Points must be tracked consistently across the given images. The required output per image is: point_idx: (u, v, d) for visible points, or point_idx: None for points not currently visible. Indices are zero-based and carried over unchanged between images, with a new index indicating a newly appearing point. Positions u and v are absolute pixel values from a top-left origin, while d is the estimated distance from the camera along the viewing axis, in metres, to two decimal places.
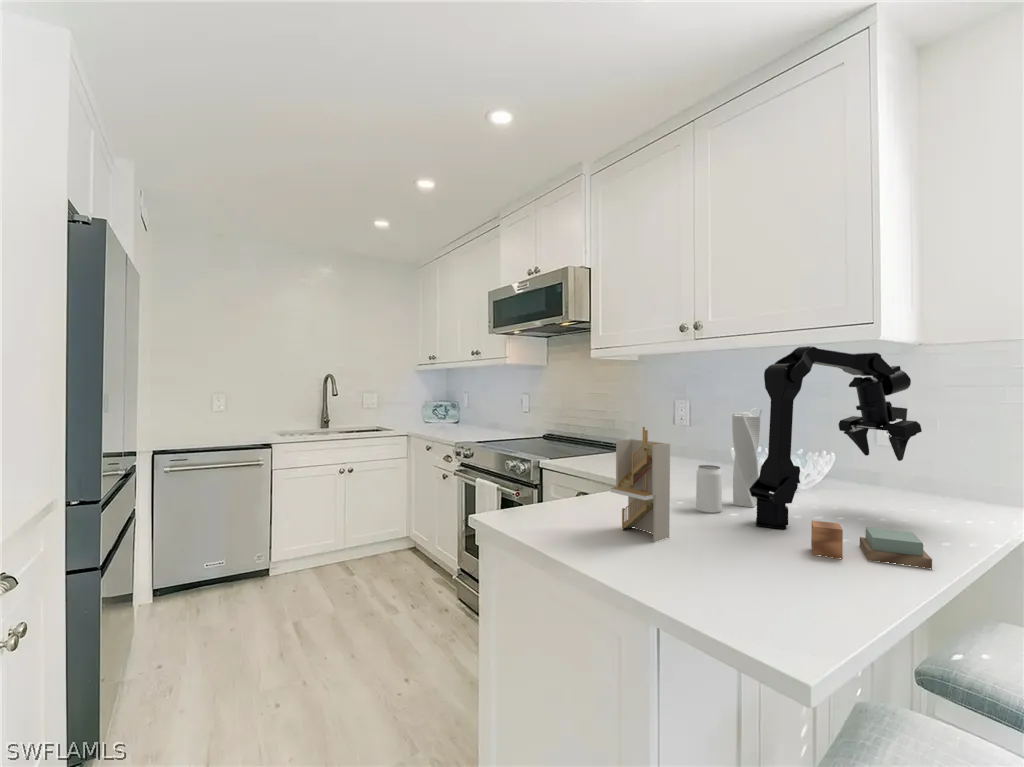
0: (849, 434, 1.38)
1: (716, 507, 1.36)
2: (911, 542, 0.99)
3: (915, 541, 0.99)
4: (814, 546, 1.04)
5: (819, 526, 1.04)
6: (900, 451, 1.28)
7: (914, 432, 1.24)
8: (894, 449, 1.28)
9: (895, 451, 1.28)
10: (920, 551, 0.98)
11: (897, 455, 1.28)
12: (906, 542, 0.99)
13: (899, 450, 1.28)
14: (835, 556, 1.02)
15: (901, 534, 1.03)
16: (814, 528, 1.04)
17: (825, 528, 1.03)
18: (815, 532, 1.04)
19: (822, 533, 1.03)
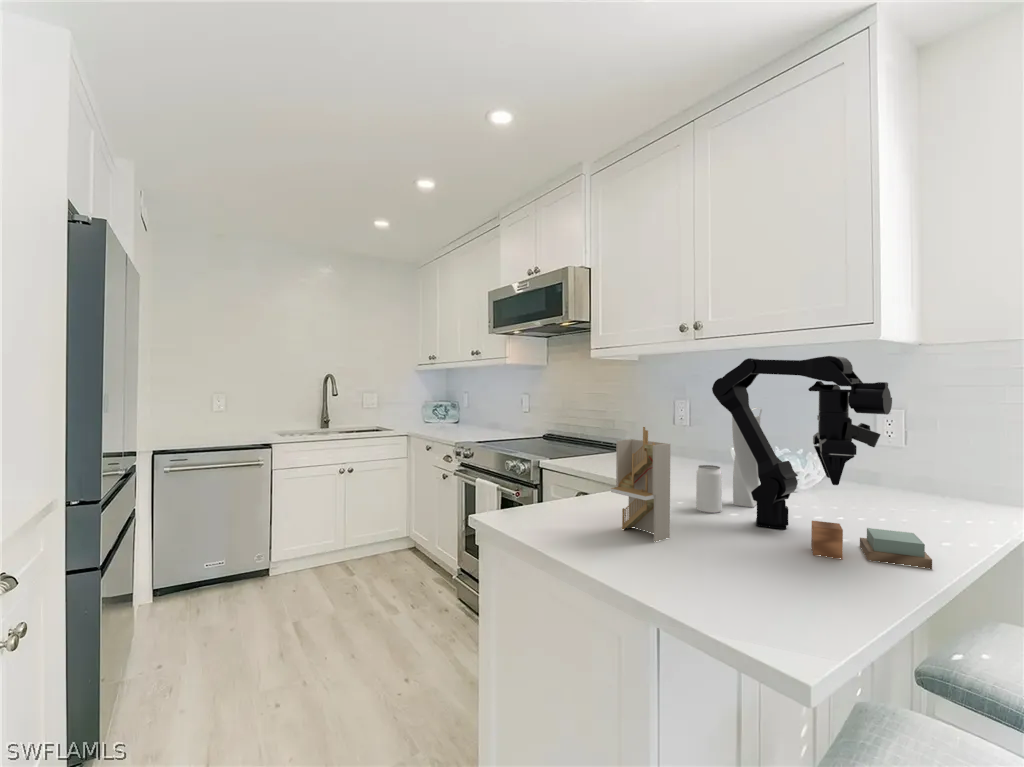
0: (815, 448, 1.21)
1: (716, 507, 1.36)
2: (912, 543, 0.99)
3: (917, 542, 0.99)
4: (814, 546, 1.04)
5: (819, 526, 1.04)
6: (833, 473, 1.10)
7: (840, 452, 1.06)
8: (826, 468, 1.11)
9: (828, 471, 1.11)
10: (921, 552, 0.98)
11: (829, 477, 1.11)
12: (907, 543, 0.99)
13: (831, 471, 1.10)
14: (835, 556, 1.02)
15: (902, 535, 1.03)
16: (814, 528, 1.04)
17: (825, 528, 1.03)
18: (815, 532, 1.04)
19: (822, 533, 1.03)
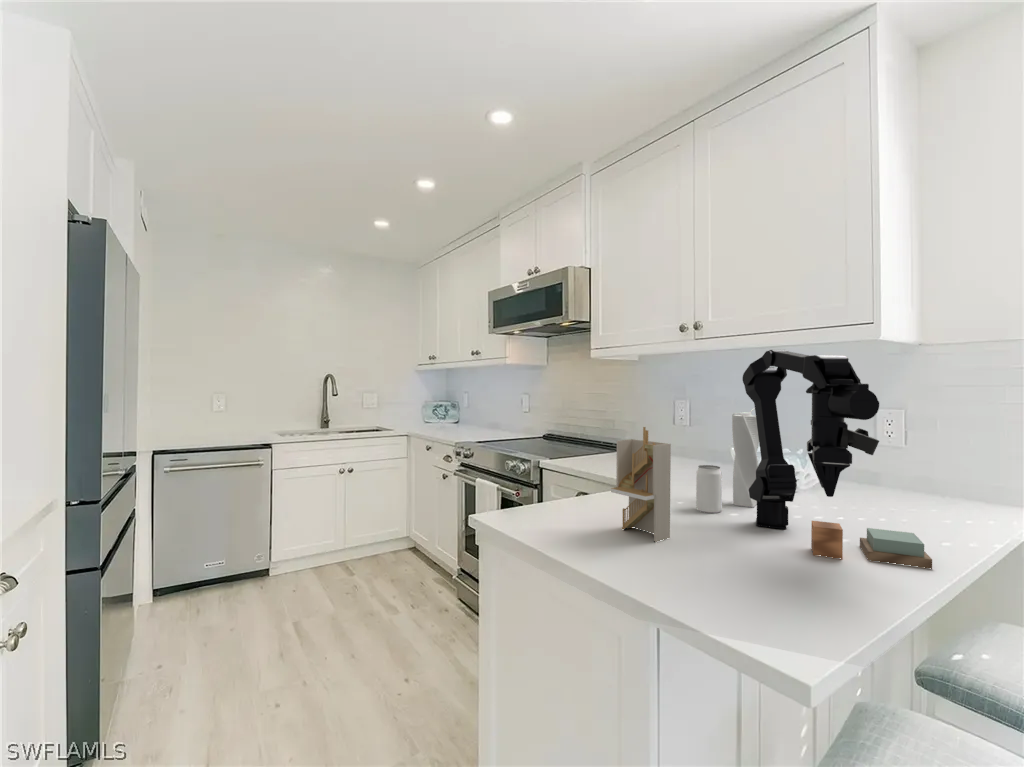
0: None
1: (716, 507, 1.36)
2: (912, 543, 0.99)
3: (916, 542, 0.99)
4: (814, 546, 1.04)
5: (819, 526, 1.04)
6: (826, 483, 1.00)
7: (834, 460, 0.96)
8: (819, 478, 1.01)
9: None
10: (921, 552, 0.98)
11: (823, 487, 1.01)
12: (907, 543, 0.99)
13: (824, 481, 1.00)
14: (835, 556, 1.02)
15: (902, 535, 1.03)
16: (814, 528, 1.04)
17: (825, 528, 1.03)
18: (815, 532, 1.04)
19: (822, 533, 1.03)
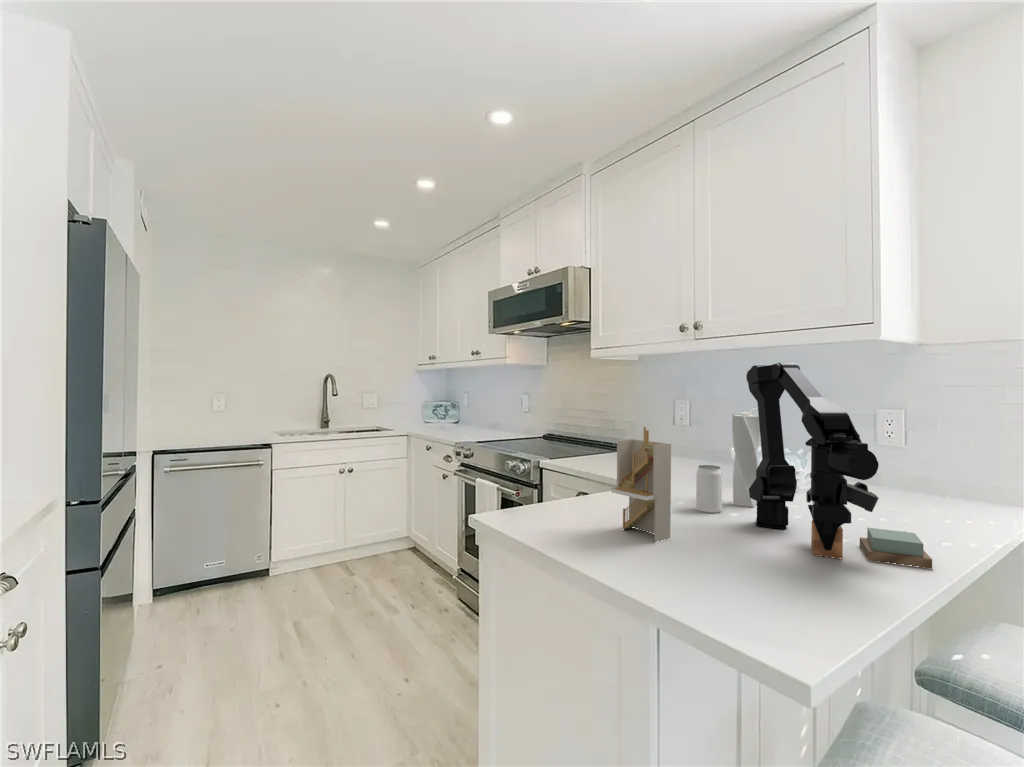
0: (809, 508, 1.10)
1: (716, 507, 1.36)
2: (911, 543, 0.99)
3: (915, 542, 0.99)
4: (814, 546, 1.04)
5: None
6: (825, 537, 1.02)
7: (834, 519, 0.96)
8: (818, 532, 1.03)
9: (820, 535, 1.03)
10: (920, 552, 0.98)
11: None
12: (906, 542, 0.99)
13: (822, 535, 1.02)
14: (835, 556, 1.02)
15: (902, 535, 1.03)
16: (814, 528, 1.04)
17: None
18: (815, 532, 1.04)
19: None
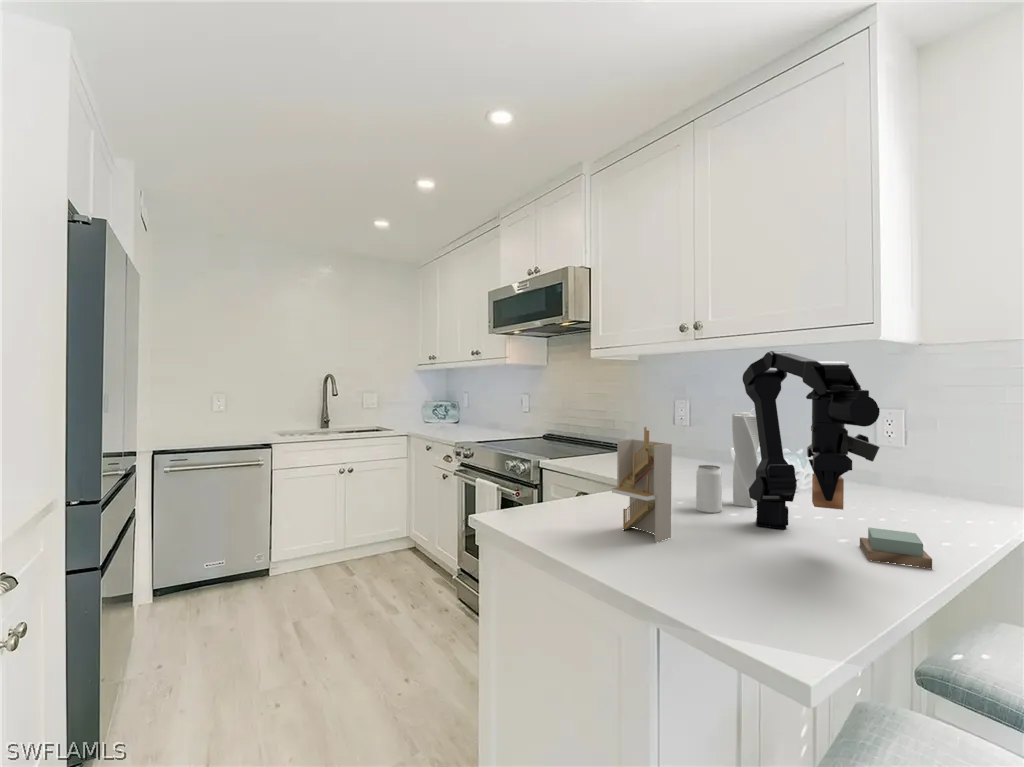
0: None
1: (716, 507, 1.36)
2: (911, 542, 0.99)
3: (915, 542, 0.99)
4: (815, 497, 1.04)
5: None
6: (826, 488, 1.02)
7: (835, 467, 0.96)
8: None
9: None
10: (920, 552, 0.98)
11: None
12: (906, 542, 0.99)
13: (823, 485, 1.02)
14: (836, 506, 1.02)
15: (903, 535, 1.03)
16: (815, 479, 1.04)
17: None
18: (816, 483, 1.03)
19: None
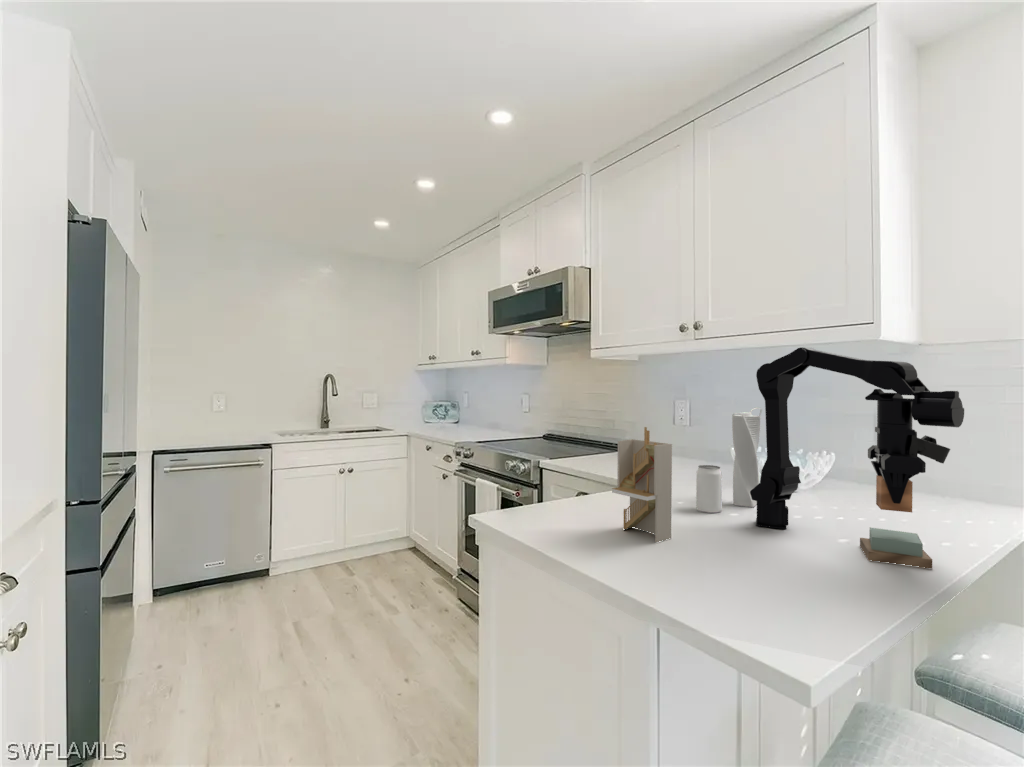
0: (872, 464, 1.08)
1: (716, 507, 1.36)
2: (910, 543, 0.99)
3: (915, 542, 0.99)
4: (882, 499, 1.02)
5: None
6: (894, 490, 1.00)
7: (907, 469, 0.95)
8: (886, 485, 1.01)
9: None
10: (919, 552, 0.98)
11: (890, 494, 1.01)
12: (905, 542, 0.99)
13: (892, 488, 1.00)
14: (904, 509, 1.00)
15: (904, 535, 1.03)
16: (882, 481, 1.02)
17: None
18: (883, 485, 1.02)
19: None
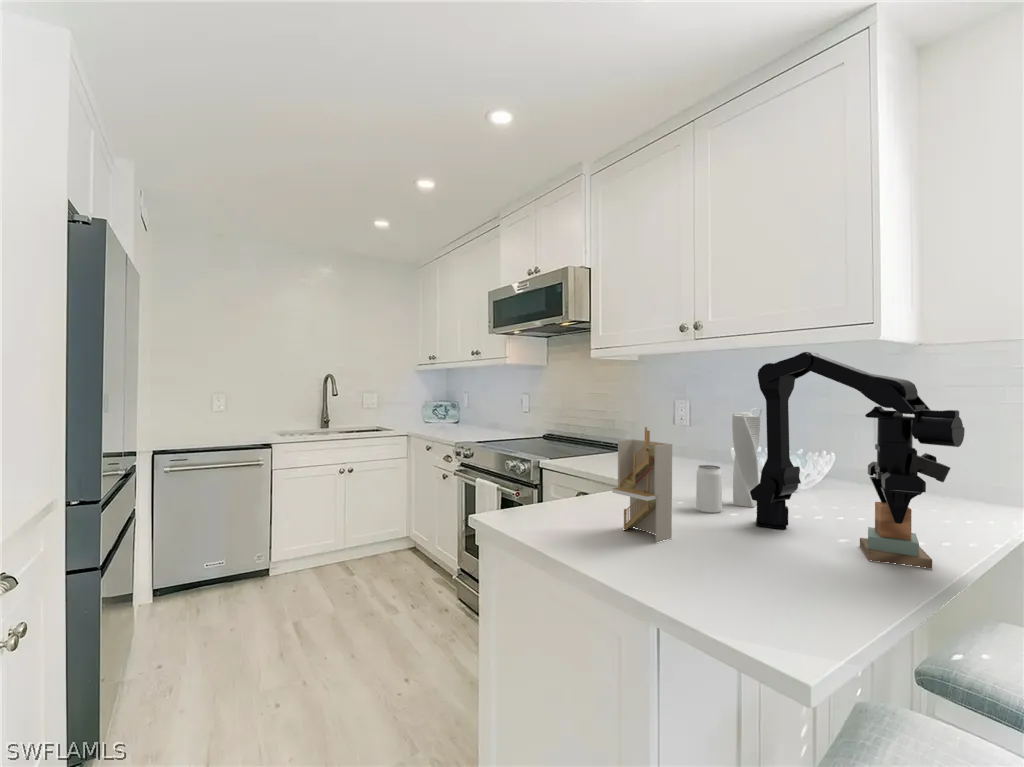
0: (871, 480, 1.09)
1: (716, 507, 1.36)
2: (907, 542, 0.99)
3: (911, 542, 0.99)
4: (881, 526, 1.02)
5: (886, 506, 1.02)
6: (896, 510, 0.99)
7: (907, 488, 0.95)
8: (888, 505, 1.00)
9: (890, 508, 1.00)
10: (916, 552, 0.98)
11: (892, 514, 1.00)
12: (902, 542, 0.99)
13: (893, 508, 0.99)
14: (903, 536, 1.00)
15: None
16: (881, 508, 1.02)
17: None
18: (882, 512, 1.02)
19: (890, 513, 1.01)
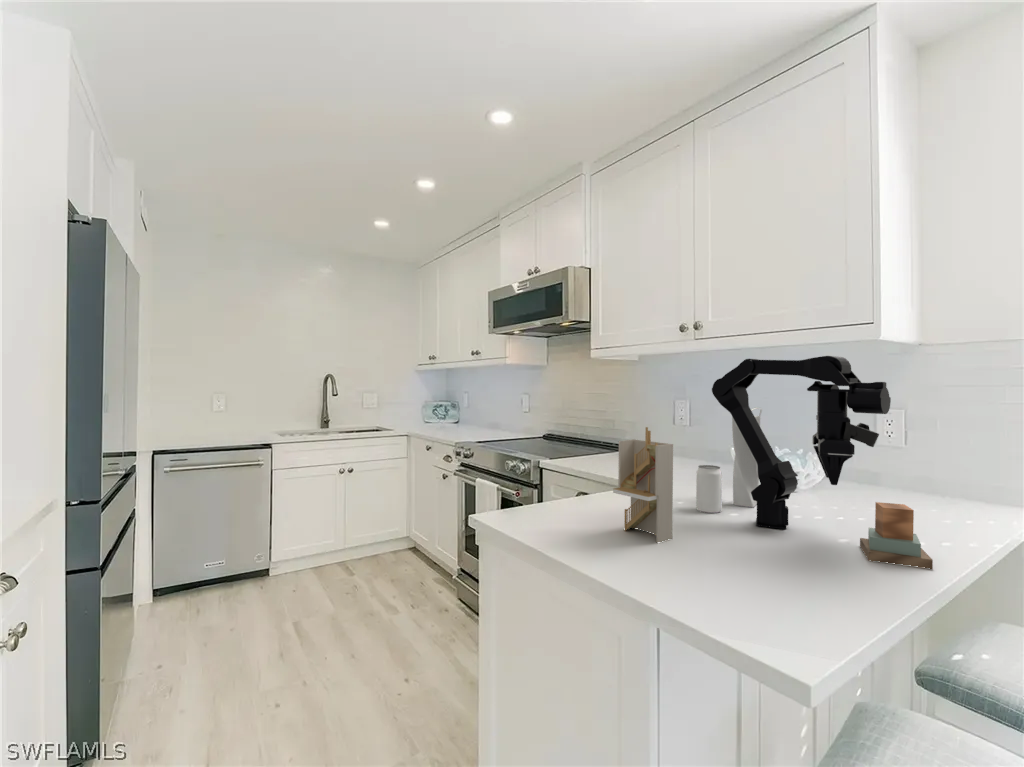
0: (814, 448, 1.21)
1: (716, 507, 1.36)
2: (909, 543, 0.99)
3: (913, 542, 0.99)
4: (883, 527, 1.02)
5: (888, 507, 1.02)
6: (831, 473, 1.10)
7: (838, 451, 1.06)
8: (824, 468, 1.11)
9: (826, 471, 1.11)
10: (918, 552, 0.98)
11: (828, 476, 1.11)
12: (903, 543, 0.99)
13: (829, 471, 1.10)
14: (905, 537, 1.00)
15: None
16: (884, 509, 1.02)
17: (895, 509, 1.01)
18: (885, 513, 1.02)
19: (892, 514, 1.01)
